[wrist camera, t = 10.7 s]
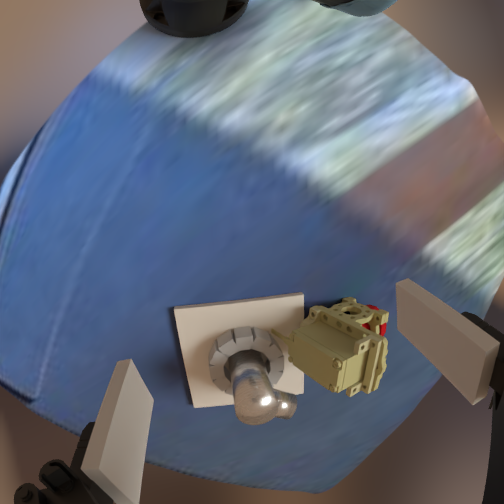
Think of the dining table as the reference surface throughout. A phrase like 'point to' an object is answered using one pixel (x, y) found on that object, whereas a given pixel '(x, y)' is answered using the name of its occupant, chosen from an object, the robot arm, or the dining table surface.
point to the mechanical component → (341, 346)
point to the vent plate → (229, 317)
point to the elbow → (257, 390)
